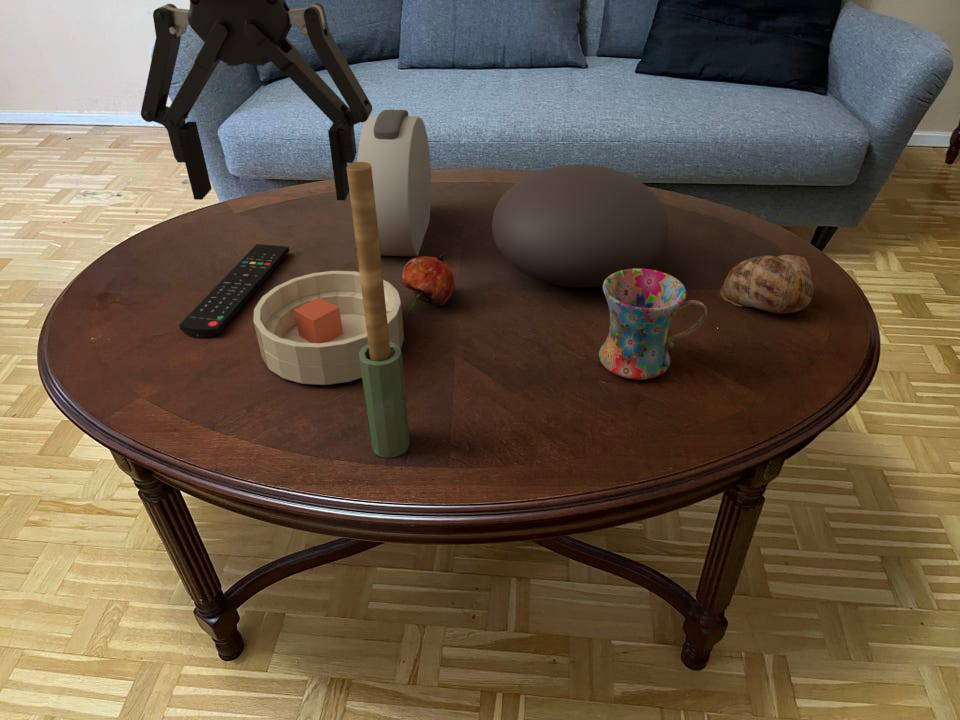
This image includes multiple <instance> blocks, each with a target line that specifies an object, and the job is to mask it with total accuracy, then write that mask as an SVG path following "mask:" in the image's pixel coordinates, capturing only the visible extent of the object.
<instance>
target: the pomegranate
mask: <svg viewBox="0 0 960 720" xmlns="http://www.w3.org/2000/svg"><path fill="white" fill-rule="evenodd" d="M446 255H447V253H446V251H443V252H442V253H441V255H440V256H438V257H434V256H426V255H422V256H416V257H412V258H411V259H410V260H408V261H407V262H406V263H405V265H404V267H403V270H402V275H401V277H402V279H401V281H402V285H403V287H405V288H407V289H408V290H411V292H412V294H413V295H414V297H416V298H415V299H414V301H413V303H412V305H411V306H410V307H409V309H408V310H407V312H406V315H407V316H409V314H410V313H411V312H412V310H413V308H415V307H416V306H417V302H418V301H419V300H423V301H427V302H431V303H432V304H433V305H435V306H437V307H443V306H444V305H445V304H446V303H448V301H449V300H450V299H451V297H452V295H453V292H454V290H455V277H454V274H453V271H452V269H451V268H450V267H448V265H447V263H446V262H445V257H446Z"/></svg>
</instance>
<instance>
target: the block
mask: <svg viewBox="0 0 960 720" xmlns="http://www.w3.org/2000/svg"><path fill="white" fill-rule="evenodd" d="M294 312H295V317H296V322H297V327H298V332H299V336H300V337H302V338H304V339H305V340H307V341H309V342H311V343H326V342H329V341H331V340H333V339H334V338H336V337H338V336H340V335H342V334H343V330H342V324H341V317H340V310H339V307H337V306H335V305H333V304H331V303H329V302H328V301H326V300H324V299H322V298H320V297H319V298H316V299H314V300H312V301H310V302H308V303H306V304H304V305H302V306H300V307H298V308H296V309H294Z"/></svg>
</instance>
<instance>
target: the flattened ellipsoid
mask: <svg viewBox="0 0 960 720" xmlns="http://www.w3.org/2000/svg"><path fill="white" fill-rule="evenodd" d="M491 220H492V222H491V230H492V236H493V239H494V242H495V245H496V246H497V248H498V250H499V251H500V253H501V254H502V256H503V257H504V258H505V259H506V260H507V261H508V262H509V263H510V264H512V265H513V266H514V267H515V268H516V269H518V270H519V271H520V272H522V273H524V274H526V275H528V276H530V277H532V278H534V279H537V280H539V281H542V282H545V283H548V284H552V285H554V286H555V285H556V286H560V287H570V288H594V287H603V283H604V281H605V279H606V278H607V277H608V276H610V275H611V274H613V273H615V272H618V271H621V270H626V269H647V268H648V266H650V265H651V264H652V263H653V262H655V260H656V259H657V258H658V256H659V255H660V254H661V252H662V250H664V248H665V246H666V243H667V240H668V237H669V230H670V228H669V217H668V215H667V212H666V209H665V206H664V204H663V202H662V201H661V199H660V198H659V197H658V196H657V195H656V193H655V192H654V191H653V190H652V189H651V188H650V187H649V186H647V185H646V184H645V183H643V182H641V181H640V180H639V179H637V178H636V177H634V176H632V175H630V174H628V173H625V172H622V171H619V170H616V169H614V168H611V167H607V166H601V165H595V164H579V163H578V164H565V165H557V166H552V167H549V168H545V169H542V170H537V171H535V172H533V173H531V174H529V175H527V176H526V177H524V178H521V179H520V180H519V181H517V182H515V183H514V184H513V185H512V186H511V187H510V188H509V189H507V191H506V192H504V193H503V194H502V195H501V198H500V199H499V201H498V203H497V205H496V206H495V208H494V210H493V214H492V219H491Z"/></svg>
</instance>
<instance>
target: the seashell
mask: <svg viewBox="0 0 960 720" xmlns="http://www.w3.org/2000/svg"><path fill="white" fill-rule="evenodd" d="M719 295H720V296H721V298H722V299H723V300H724V301H726V302H728V303H731V304H733V305H734V306H737V307H742V308H750V307H751V308H755V309H757V310H758V309H759V310H762V311H766V312H770V313H773V314H777V315H785V314H792V313H797V312H800V311H801V310H804V309H805V308H806V307H808V306H809V304H810V303H811V301H812V299H813V296H814V283H813V278H812V275H811V267H810V265H809V262H808V260H807V259H806V258H805V256H802V255H793V254H781V255H778V256H774V255H760V256H753V257H749V258H747V259H745V260H742V261H741V262H740V263H738V264H737V265H735V266H734V267H733V268H732V269H731V270H730V271H729V272H728V274H727V276H726V278H725V279H724V282H723V285H721V287H720V289H719Z"/></svg>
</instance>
